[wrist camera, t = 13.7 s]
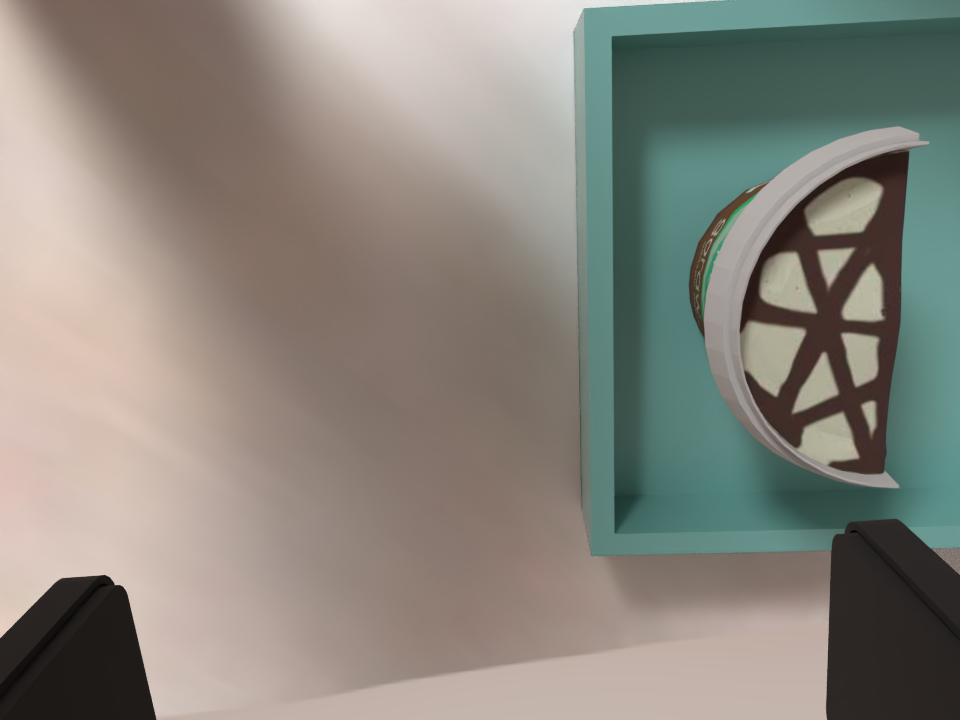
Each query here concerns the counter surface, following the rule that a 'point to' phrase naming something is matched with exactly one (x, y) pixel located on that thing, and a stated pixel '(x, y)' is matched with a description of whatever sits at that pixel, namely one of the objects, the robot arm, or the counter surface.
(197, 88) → the counter surface
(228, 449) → the counter surface
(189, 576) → the counter surface
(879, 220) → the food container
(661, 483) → the tray
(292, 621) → the counter surface
